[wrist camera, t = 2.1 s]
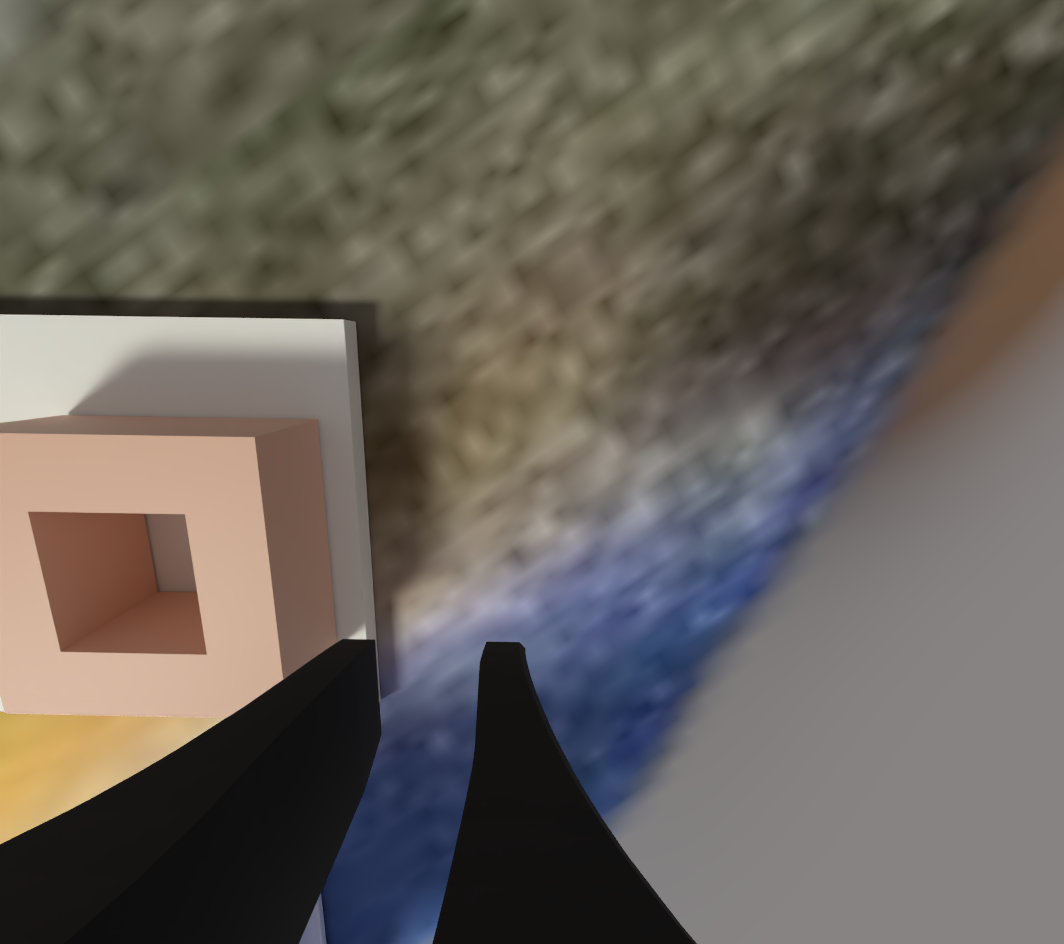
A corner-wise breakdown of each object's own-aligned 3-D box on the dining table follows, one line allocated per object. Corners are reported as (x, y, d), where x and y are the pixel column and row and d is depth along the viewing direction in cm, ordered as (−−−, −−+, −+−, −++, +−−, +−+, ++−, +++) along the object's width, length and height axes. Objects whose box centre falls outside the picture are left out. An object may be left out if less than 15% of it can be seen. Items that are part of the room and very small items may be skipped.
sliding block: (337, 647, 17) (287, 719, 14) (110, 642, 17) (4, 713, 14) (317, 419, 15) (254, 436, 12) (63, 415, 15) (-72, 431, 12)
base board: (380, 700, 19) (326, 819, 14) (-82, 690, 19) (-295, 805, 14) (355, 321, 16) (273, 306, 11) (-201, 313, 16) (-530, 294, 11)
